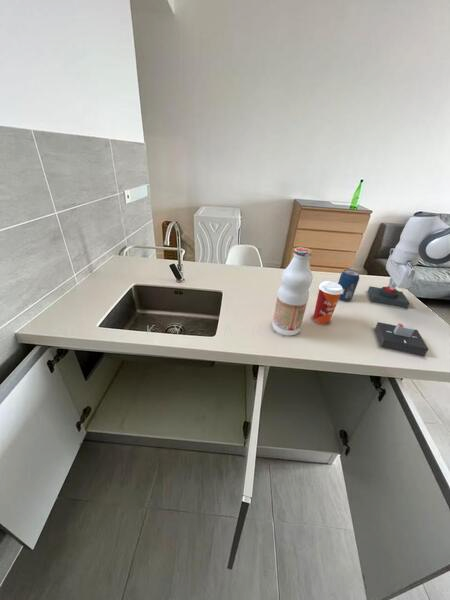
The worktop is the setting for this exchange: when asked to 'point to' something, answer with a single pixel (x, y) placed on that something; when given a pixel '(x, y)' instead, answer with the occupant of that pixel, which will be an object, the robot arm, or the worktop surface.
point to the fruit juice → (293, 293)
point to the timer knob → (403, 330)
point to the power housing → (387, 297)
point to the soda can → (348, 284)
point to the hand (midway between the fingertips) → (390, 288)
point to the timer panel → (400, 340)
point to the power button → (390, 290)
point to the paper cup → (327, 301)
